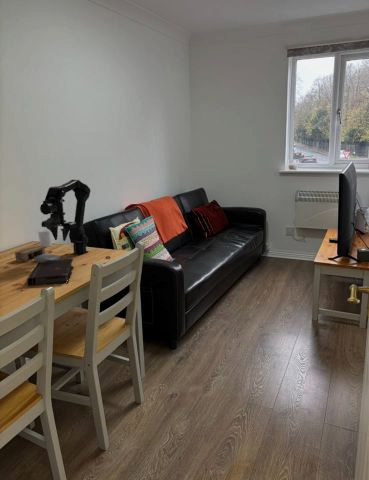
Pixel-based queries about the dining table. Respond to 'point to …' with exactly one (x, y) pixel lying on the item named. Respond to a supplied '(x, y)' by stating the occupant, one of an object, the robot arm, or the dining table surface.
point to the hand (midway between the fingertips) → (60, 240)
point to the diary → (51, 272)
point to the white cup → (45, 237)
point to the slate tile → (47, 257)
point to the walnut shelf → (29, 253)
